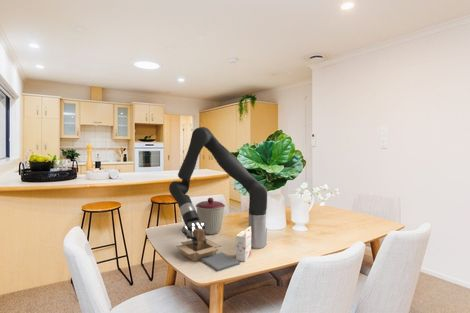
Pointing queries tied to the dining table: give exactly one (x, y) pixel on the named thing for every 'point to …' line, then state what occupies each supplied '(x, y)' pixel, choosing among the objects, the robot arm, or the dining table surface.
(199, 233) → the walnut block
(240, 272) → the dining table surface
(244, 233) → the ink cartridge box
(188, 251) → the carton
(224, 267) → the mat
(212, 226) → the canister
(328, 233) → the dining table surface
